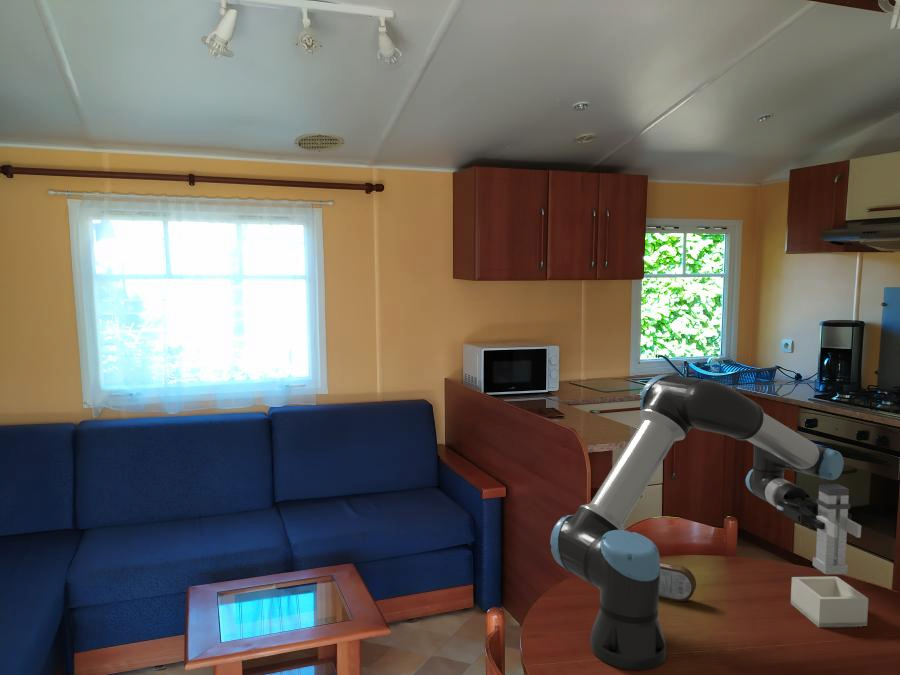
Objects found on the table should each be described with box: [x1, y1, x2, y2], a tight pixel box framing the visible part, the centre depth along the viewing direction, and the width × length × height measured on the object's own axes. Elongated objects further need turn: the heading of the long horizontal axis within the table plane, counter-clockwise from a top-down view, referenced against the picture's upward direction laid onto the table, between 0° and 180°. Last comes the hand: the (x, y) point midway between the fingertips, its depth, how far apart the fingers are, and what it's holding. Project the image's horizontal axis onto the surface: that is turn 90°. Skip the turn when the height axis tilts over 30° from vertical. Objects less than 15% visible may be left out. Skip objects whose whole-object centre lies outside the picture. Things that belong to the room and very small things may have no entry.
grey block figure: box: [812, 483, 851, 575], centre depth 147 cm, size 5×5×20 cm
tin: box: [659, 560, 697, 602], centre depth 157 cm, size 15×3×8 cm, turn 63°
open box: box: [790, 576, 869, 628], centre depth 148 cm, size 11×11×6 cm
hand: (847, 531), depth 142 cm, fingers closed on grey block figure, 5 cm apart
